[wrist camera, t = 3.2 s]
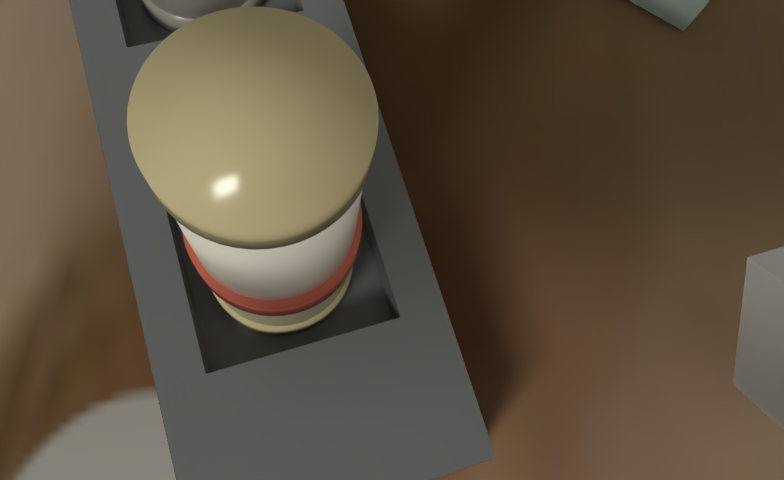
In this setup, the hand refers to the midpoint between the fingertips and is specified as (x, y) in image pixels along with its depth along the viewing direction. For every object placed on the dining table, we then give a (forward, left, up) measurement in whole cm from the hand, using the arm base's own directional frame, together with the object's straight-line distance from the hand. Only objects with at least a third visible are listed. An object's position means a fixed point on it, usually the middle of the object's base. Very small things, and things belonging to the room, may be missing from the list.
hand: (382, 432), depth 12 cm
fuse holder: (-8, +7, -11) cm, 15 cm away
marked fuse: (-5, +3, -10) cm, 11 cm away
